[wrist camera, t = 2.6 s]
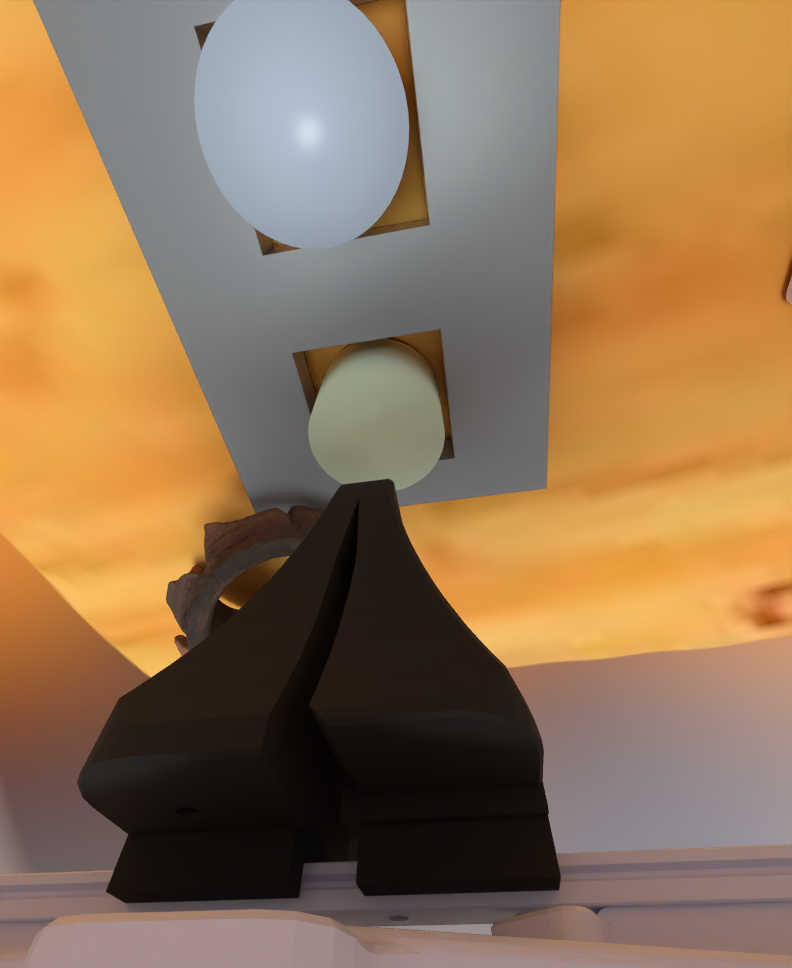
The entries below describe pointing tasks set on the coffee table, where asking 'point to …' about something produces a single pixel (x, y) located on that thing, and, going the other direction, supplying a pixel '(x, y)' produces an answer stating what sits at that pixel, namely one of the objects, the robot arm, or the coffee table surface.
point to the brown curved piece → (232, 566)
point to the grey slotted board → (360, 262)
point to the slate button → (302, 118)
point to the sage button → (377, 415)
